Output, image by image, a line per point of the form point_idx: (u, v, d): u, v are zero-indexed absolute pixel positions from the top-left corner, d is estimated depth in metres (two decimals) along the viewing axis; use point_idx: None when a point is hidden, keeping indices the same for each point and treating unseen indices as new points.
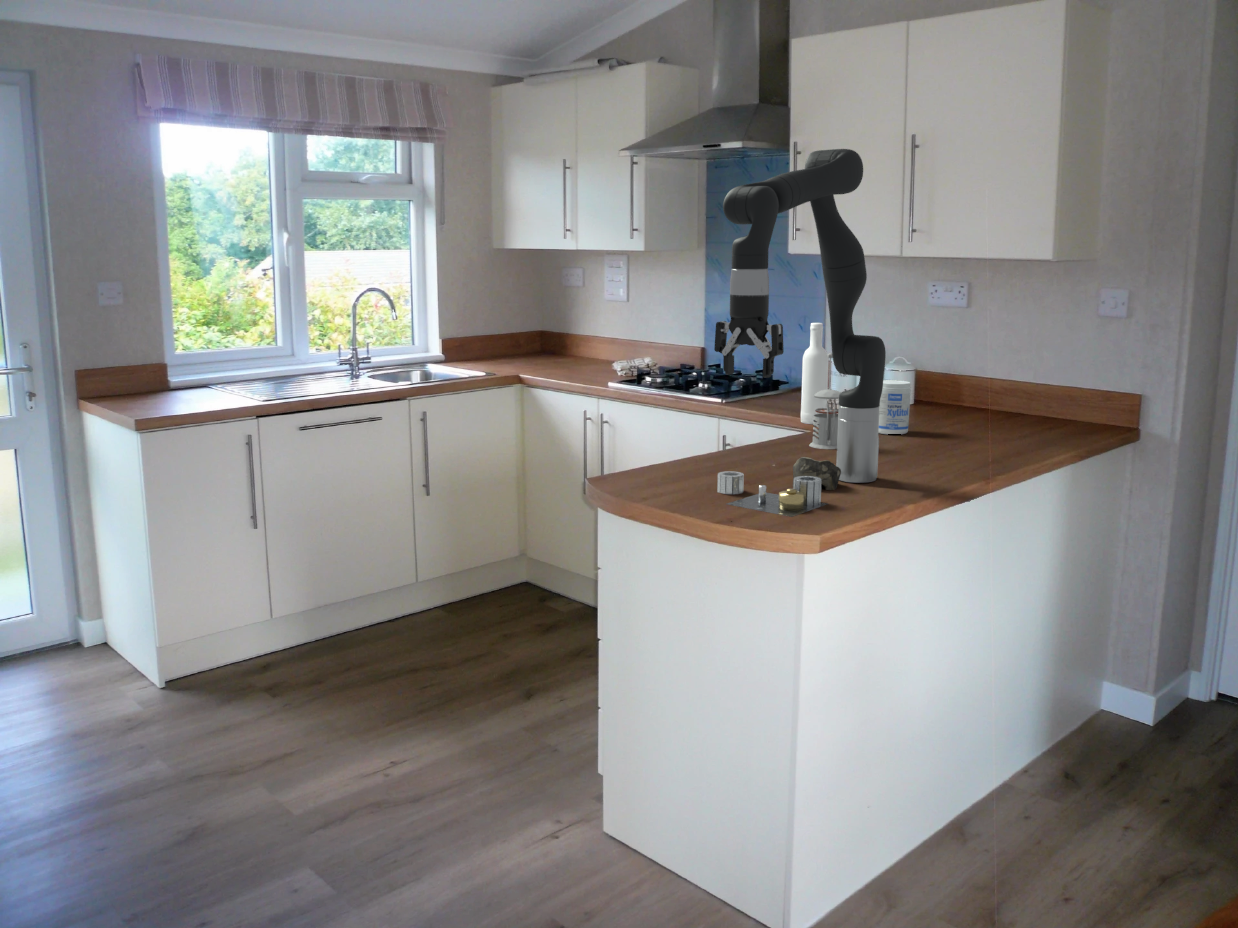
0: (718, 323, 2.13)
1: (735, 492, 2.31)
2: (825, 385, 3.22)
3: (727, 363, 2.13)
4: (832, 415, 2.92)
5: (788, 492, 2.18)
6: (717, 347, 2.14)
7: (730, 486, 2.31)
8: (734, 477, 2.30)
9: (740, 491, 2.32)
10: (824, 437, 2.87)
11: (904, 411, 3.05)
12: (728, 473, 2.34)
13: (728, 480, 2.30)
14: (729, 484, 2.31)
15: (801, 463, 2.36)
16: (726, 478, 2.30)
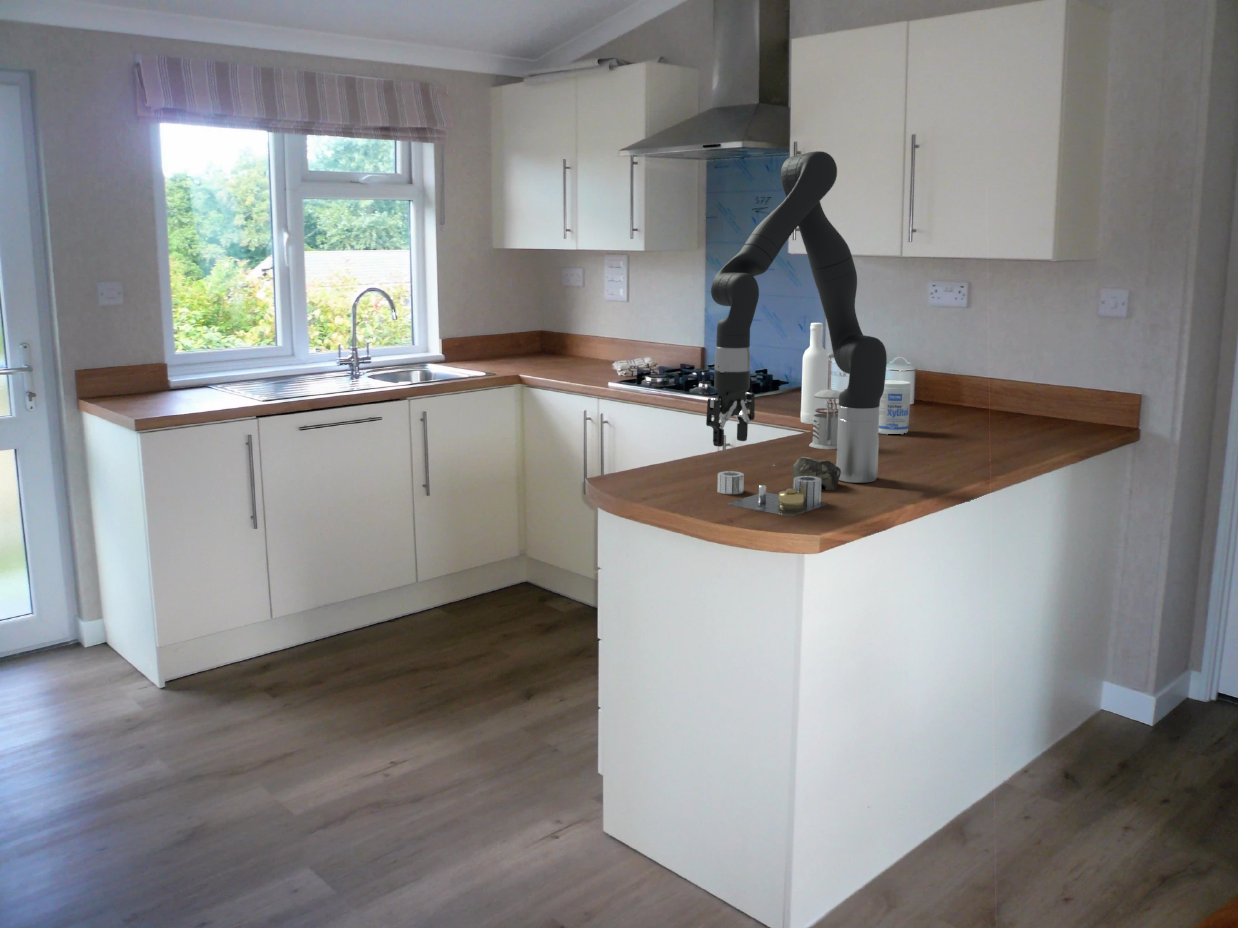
0: (718, 400, 2.24)
1: (735, 492, 2.31)
2: (825, 385, 3.22)
3: (723, 436, 2.27)
4: (832, 415, 2.92)
5: (788, 492, 2.18)
6: (717, 423, 2.25)
7: (730, 486, 2.31)
8: (734, 477, 2.30)
9: (740, 491, 2.32)
10: (824, 437, 2.87)
11: (904, 411, 3.05)
12: (728, 473, 2.34)
13: (728, 480, 2.30)
14: (729, 484, 2.31)
15: (801, 463, 2.37)
16: (726, 478, 2.30)
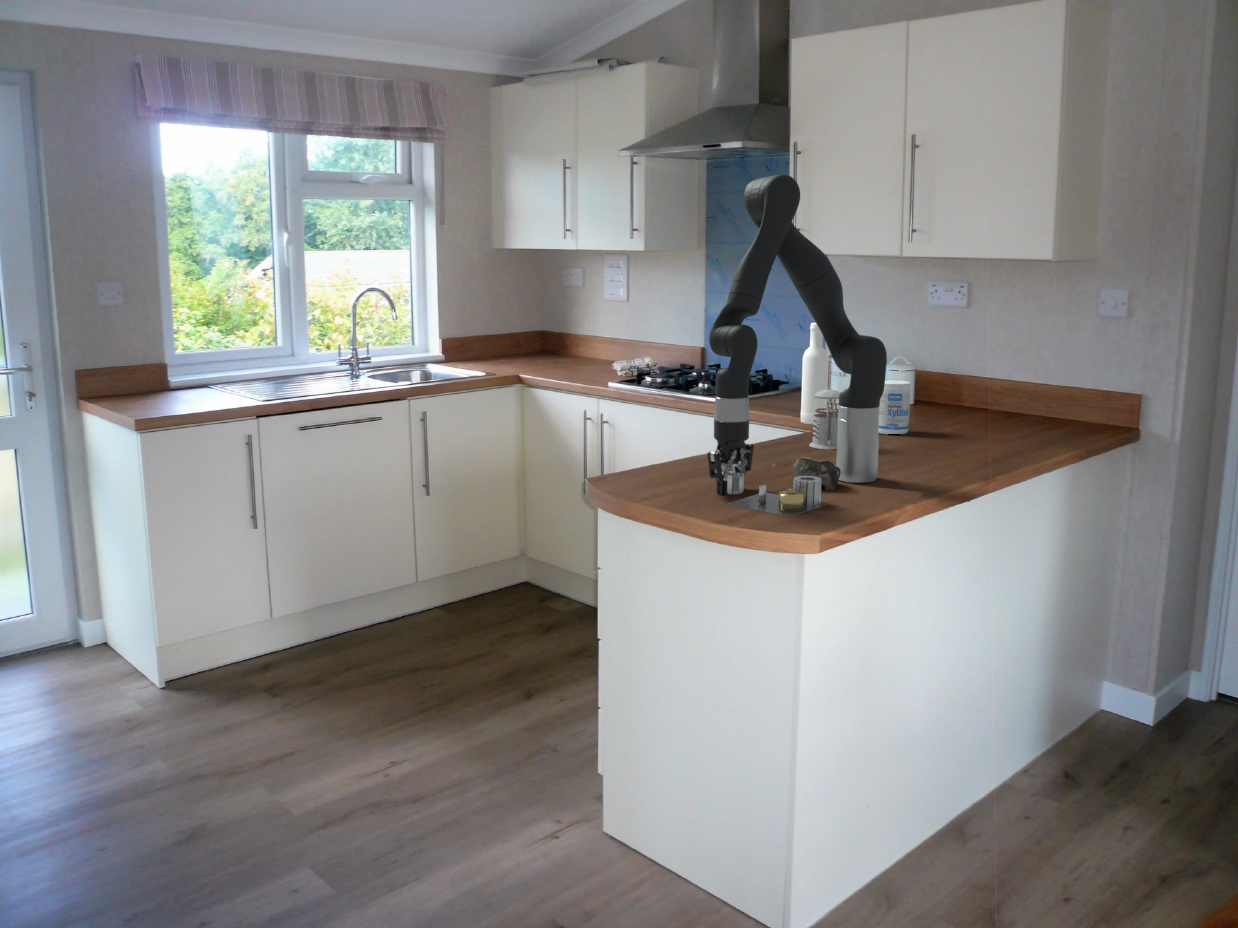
0: (718, 454, 2.26)
1: (735, 492, 2.31)
2: (825, 385, 3.22)
3: (726, 487, 2.31)
4: (832, 415, 2.92)
5: (788, 492, 2.18)
6: (720, 475, 2.28)
7: (730, 486, 2.31)
8: (734, 477, 2.30)
9: (740, 491, 2.32)
10: (824, 437, 2.87)
11: (904, 411, 3.05)
12: (728, 473, 2.34)
13: (728, 480, 2.30)
14: (729, 484, 2.31)
15: (801, 463, 2.37)
16: None
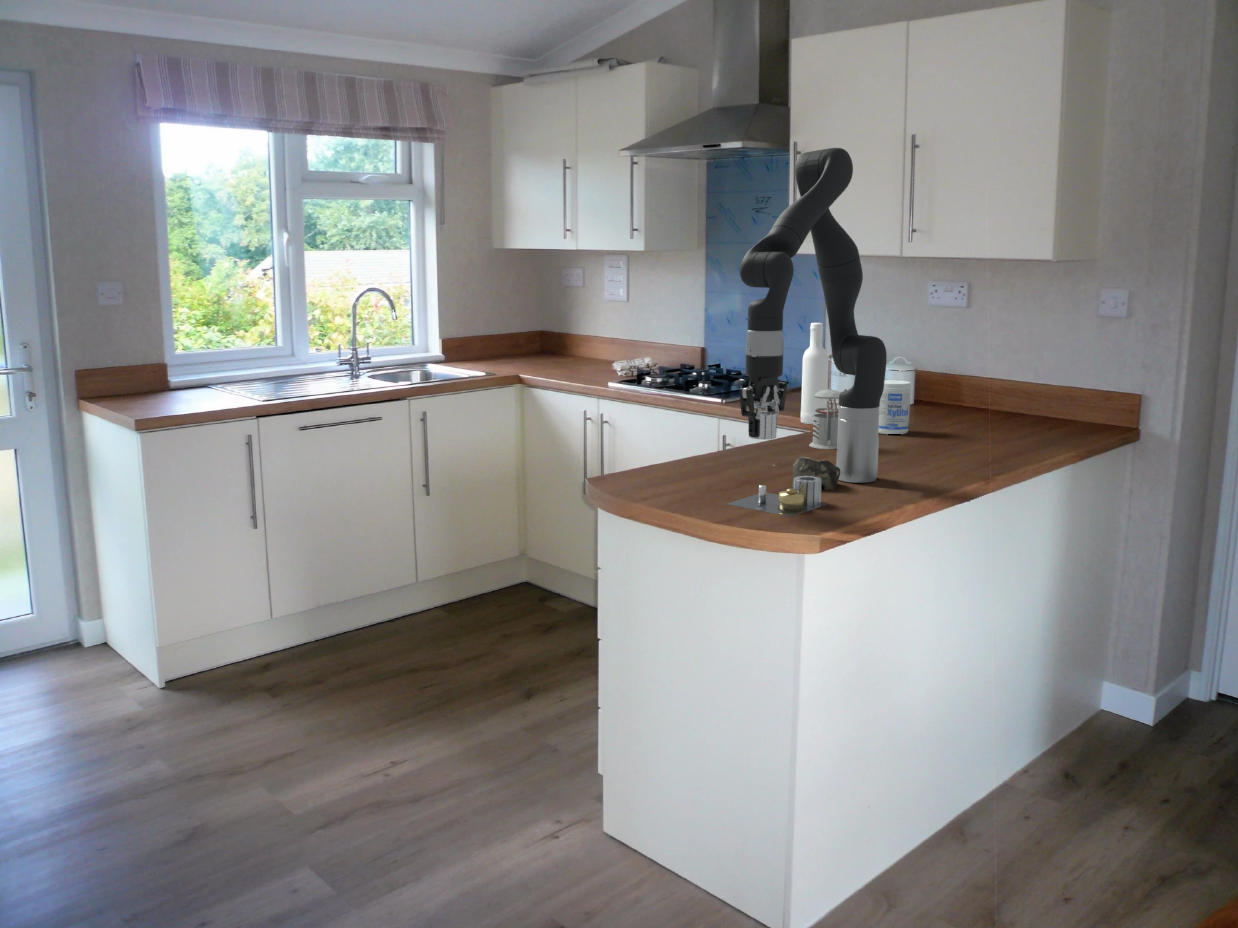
0: (750, 390, 2.14)
1: (768, 432, 2.18)
2: (825, 385, 3.22)
3: (759, 426, 2.18)
4: (832, 415, 2.92)
5: (788, 492, 2.18)
6: (753, 413, 2.15)
7: (763, 425, 2.18)
8: (767, 415, 2.17)
9: (773, 431, 2.19)
10: (824, 437, 2.87)
11: (904, 411, 3.05)
12: None
13: (760, 419, 2.18)
14: (762, 423, 2.18)
15: (800, 463, 2.37)
16: None
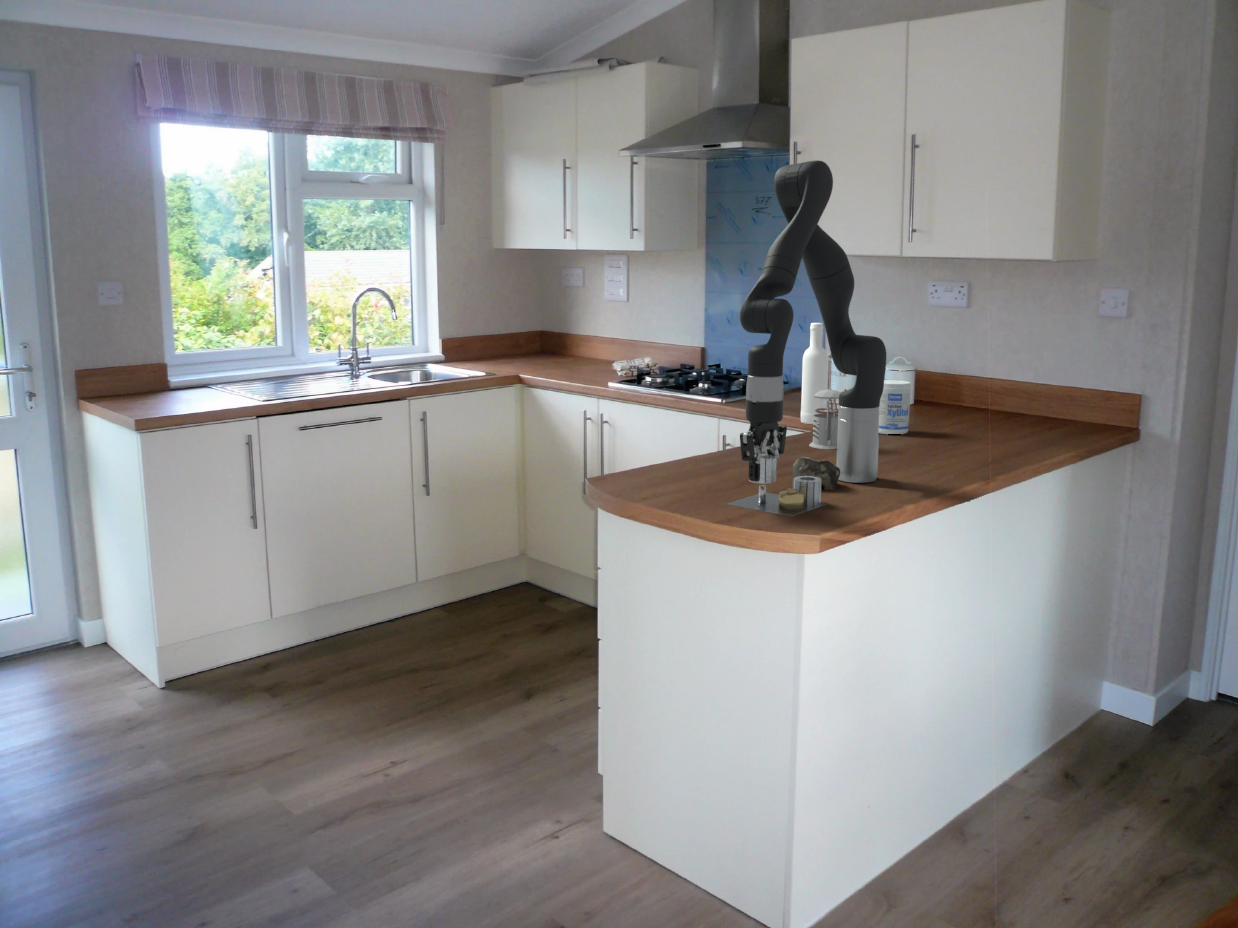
0: (751, 435, 2.15)
1: (768, 476, 2.20)
2: (825, 385, 3.22)
3: (759, 470, 2.19)
4: (832, 415, 2.92)
5: (788, 492, 2.18)
6: (753, 458, 2.17)
7: (763, 469, 2.19)
8: (767, 460, 2.19)
9: (773, 475, 2.21)
10: (824, 437, 2.87)
11: (904, 411, 3.05)
12: None
13: (761, 463, 2.19)
14: (762, 467, 2.19)
15: (800, 463, 2.37)
16: None
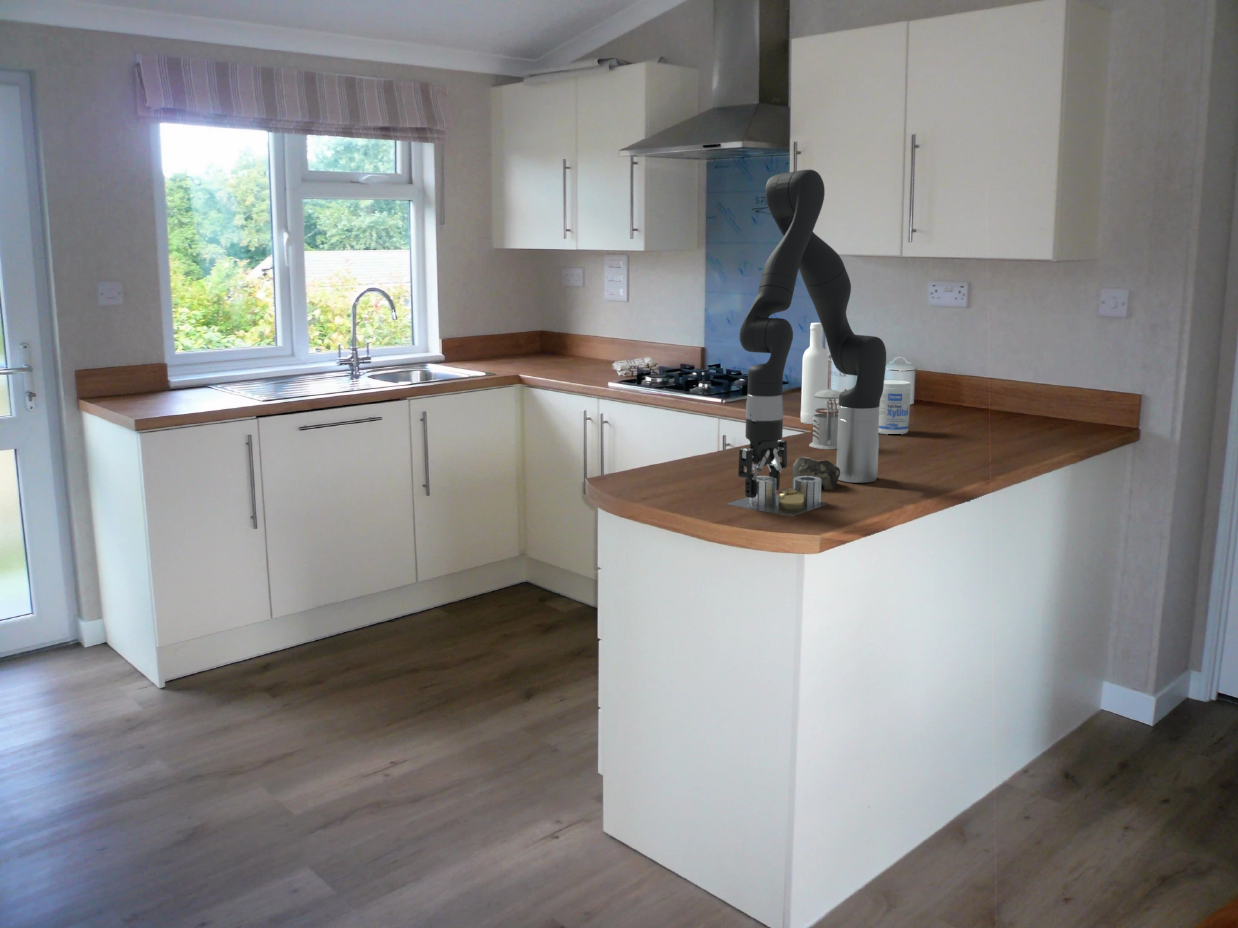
0: (751, 451, 2.16)
1: (768, 498, 2.21)
2: (825, 385, 3.22)
3: (755, 487, 2.19)
4: (832, 415, 2.92)
5: (788, 492, 2.18)
6: (749, 474, 2.17)
7: (763, 491, 2.20)
8: (767, 482, 2.20)
9: (773, 497, 2.22)
10: (824, 437, 2.87)
11: (904, 411, 3.05)
12: (760, 478, 2.24)
13: (761, 485, 2.20)
14: (762, 489, 2.20)
15: (800, 463, 2.37)
16: (759, 483, 2.20)
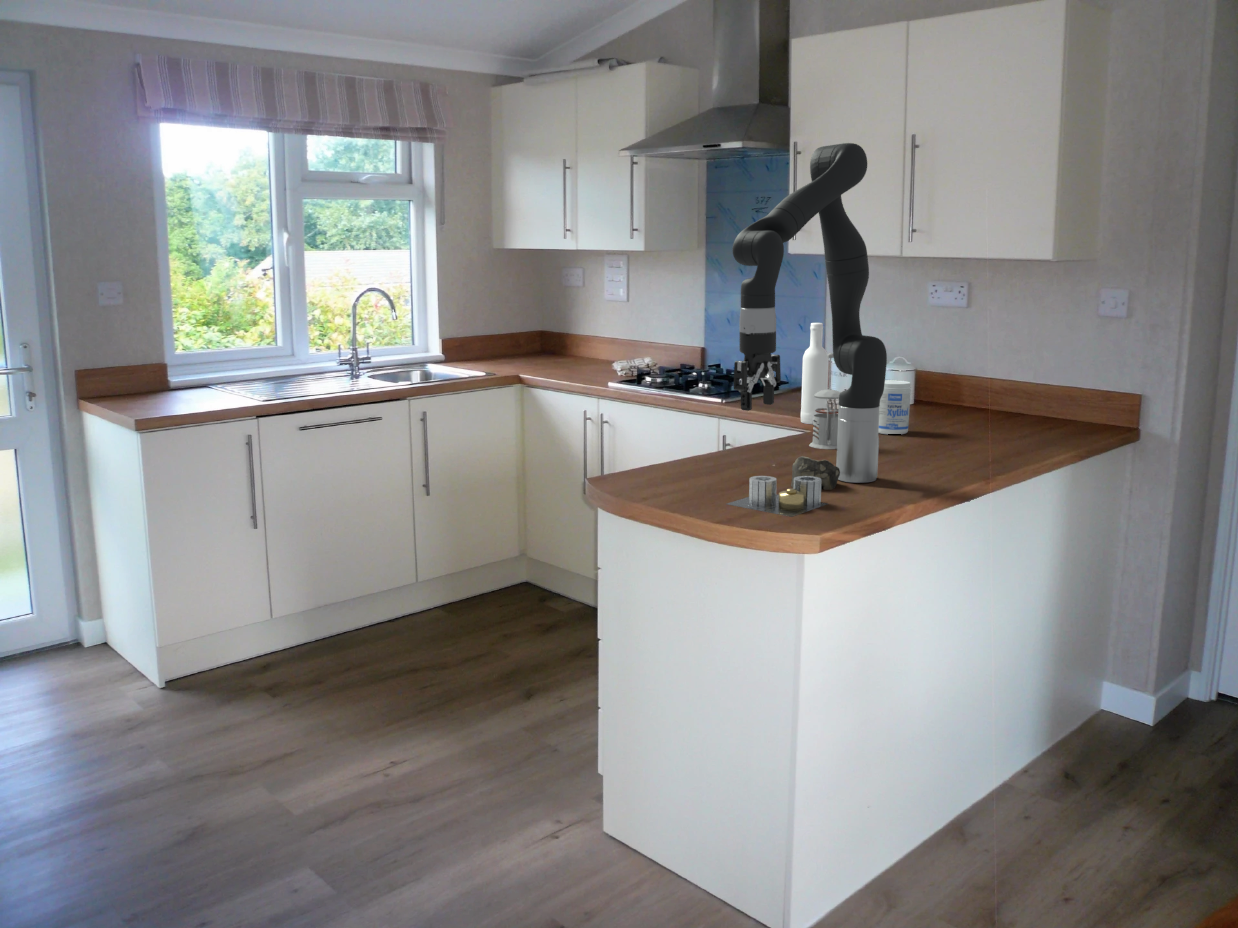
0: (746, 363, 2.18)
1: (768, 498, 2.21)
2: (825, 385, 3.22)
3: (751, 399, 2.21)
4: (832, 415, 2.92)
5: (788, 492, 2.18)
6: (745, 386, 2.19)
7: (763, 491, 2.20)
8: (767, 482, 2.20)
9: (773, 497, 2.22)
10: (824, 437, 2.87)
11: (904, 411, 3.05)
12: (760, 478, 2.24)
13: (761, 485, 2.20)
14: (762, 489, 2.20)
15: (800, 463, 2.37)
16: (759, 483, 2.20)
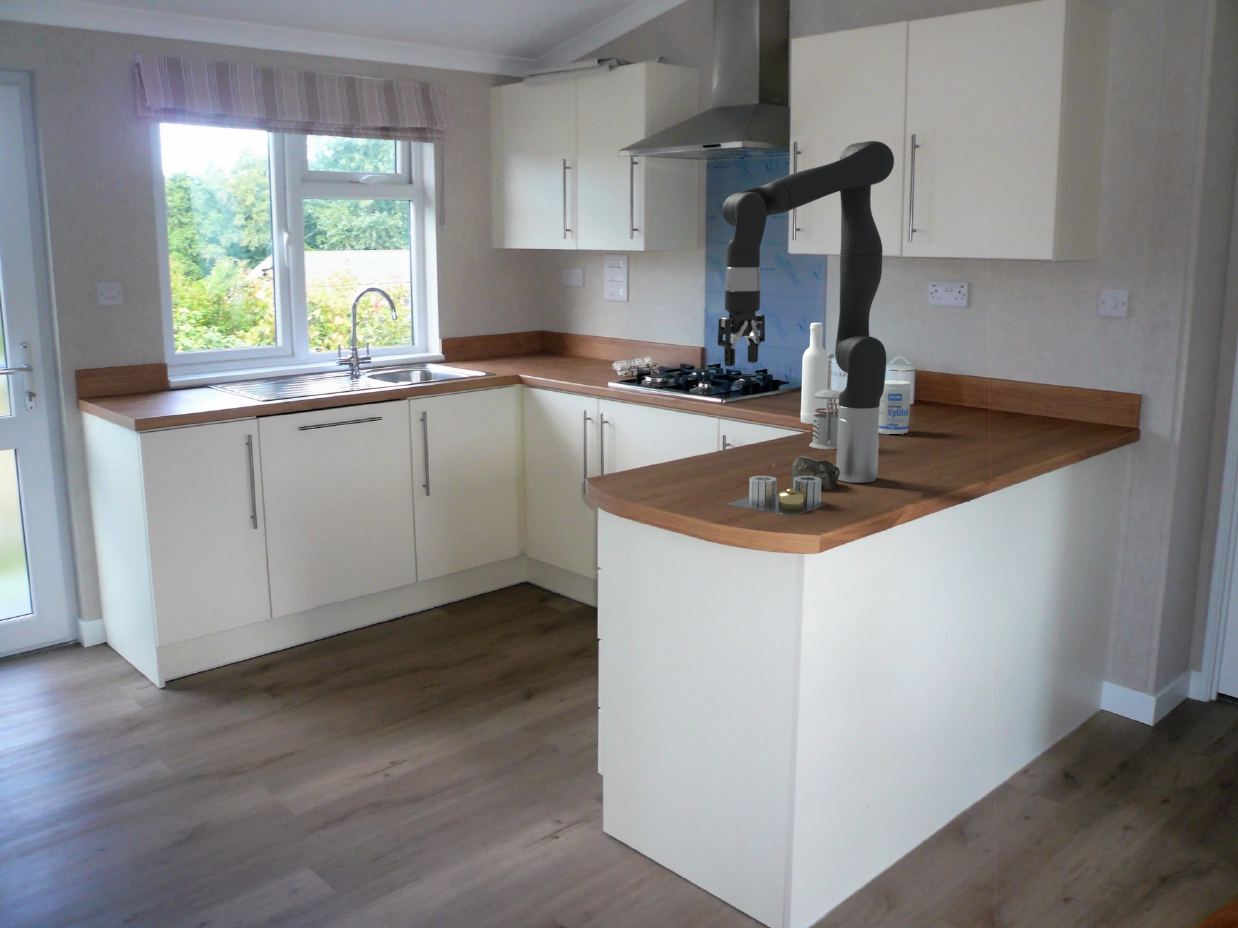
0: (729, 319, 2.26)
1: (768, 498, 2.21)
2: (825, 385, 3.22)
3: (734, 355, 2.30)
4: (832, 415, 2.92)
5: (788, 492, 2.18)
6: (728, 342, 2.27)
7: (763, 491, 2.20)
8: (767, 482, 2.20)
9: (773, 497, 2.22)
10: (824, 437, 2.87)
11: (904, 411, 3.05)
12: (760, 478, 2.24)
13: (761, 485, 2.20)
14: (762, 489, 2.20)
15: (800, 462, 2.37)
16: (759, 483, 2.20)
